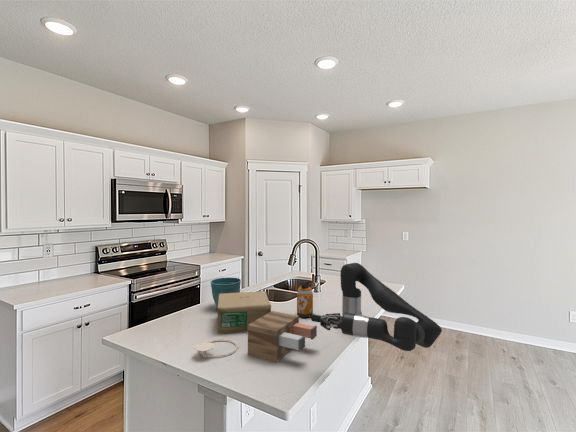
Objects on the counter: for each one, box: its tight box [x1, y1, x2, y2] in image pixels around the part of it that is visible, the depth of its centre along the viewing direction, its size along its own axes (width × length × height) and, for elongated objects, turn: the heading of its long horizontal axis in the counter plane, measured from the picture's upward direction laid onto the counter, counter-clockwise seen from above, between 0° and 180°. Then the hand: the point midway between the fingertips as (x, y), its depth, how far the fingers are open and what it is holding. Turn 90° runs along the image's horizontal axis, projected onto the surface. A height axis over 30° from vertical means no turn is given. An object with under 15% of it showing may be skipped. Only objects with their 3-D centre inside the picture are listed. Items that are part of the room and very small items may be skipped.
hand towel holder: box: [194, 338, 239, 359], centre depth 136 cm, size 17×4×21 cm
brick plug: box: [292, 322, 318, 340], centre depth 139 cm, size 4×16×4 cm, turn 62°
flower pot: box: [210, 276, 242, 310], centre depth 191 cm, size 18×18×17 cm
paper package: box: [216, 290, 272, 335], centre depth 167 cm, size 27×26×14 cm
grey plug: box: [279, 332, 306, 352], centre depth 128 cm, size 4×16×4 cm, turn 62°
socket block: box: [247, 310, 300, 363], centre depth 138 cm, size 20×14×12 cm
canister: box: [296, 279, 314, 319], centre depth 179 cm, size 9×11×20 cm
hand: (312, 317), depth 122 cm, fingers closed
